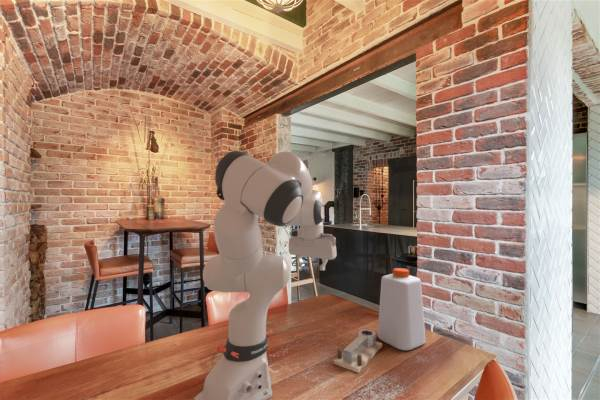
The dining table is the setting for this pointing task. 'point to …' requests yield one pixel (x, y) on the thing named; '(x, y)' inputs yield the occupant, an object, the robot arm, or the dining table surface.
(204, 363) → the dining table surface
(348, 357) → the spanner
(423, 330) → the plastic bottle
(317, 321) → the dining table surface
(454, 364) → the dining table surface
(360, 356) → the peg board
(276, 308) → the dining table surface
